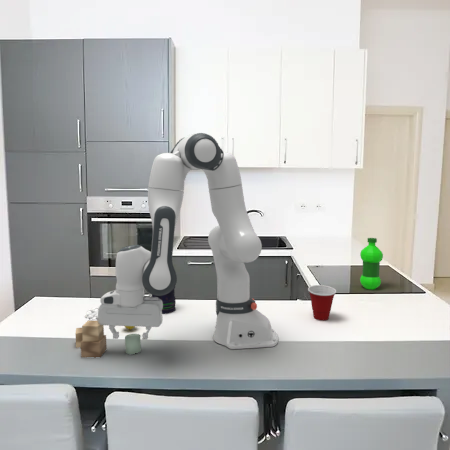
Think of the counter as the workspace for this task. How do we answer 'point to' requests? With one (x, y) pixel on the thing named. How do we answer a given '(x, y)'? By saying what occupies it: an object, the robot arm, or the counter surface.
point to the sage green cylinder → (132, 343)
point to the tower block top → (92, 331)
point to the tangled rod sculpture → (92, 313)
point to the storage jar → (168, 302)
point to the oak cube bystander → (78, 337)
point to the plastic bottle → (371, 265)
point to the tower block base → (93, 348)
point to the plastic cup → (321, 301)
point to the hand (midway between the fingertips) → (130, 338)
